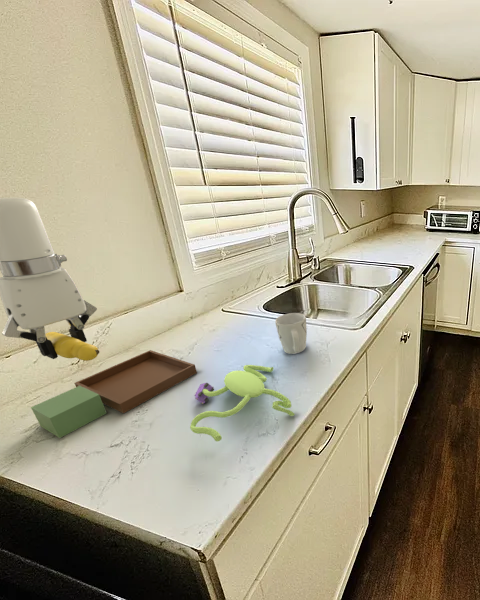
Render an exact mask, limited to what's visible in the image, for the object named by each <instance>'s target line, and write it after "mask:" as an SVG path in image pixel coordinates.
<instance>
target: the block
mask: <svg viewBox="0 0 480 600" xmlns="http://www.w3.org/2000/svg"><path fill="white" fill-rule="evenodd" d="M104 405H105V404H103V403H102V400H101V398H100V396H99V394H97V393H94V392H92V391H90V390H88V389H86V388H84V387H81V386H78V387H76V386H75V387H73V388H71V389H69V390H67V391H65V392H62V393H60V394H58V395H55V396H53V397H51V398H49V399H47V400H44V401H42V402H39V403H38V404H35V405H33V406H31V407H30V408H31V411H32V412H33V414H34V416H35V419H36V420H37V422H38V424H39V426H40V427H41V428H42V429H44V430H46V431H47V432H49V433H51V434H52V435H54V436H55V437H57V438H59V439H61V438H63V437H65V436H67V435H69V434H71V433H72V432H74V431H76V430H78V429H80V428H82V427H84V426H86V425H87V424H89V423H91V422H93V421H95V420H97V419H99V418H101V417H102V416H104V415H106V414H108V412H107V411H106V408H105V406H104Z"/></svg>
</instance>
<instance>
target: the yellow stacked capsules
mask: <svg viewBox="0 0 480 600" xmlns="http://www.w3.org/2000/svg"><path fill="white" fill-rule="evenodd" d="M45 335H46V337H47V339H48V340H50V341H51V342H52V344H53V346H54V349H55V351H56V353H57V355H58V357H62V358H64V359H75V358H76V359H79V360H81V361H86V362H87V361H92V360H94V359H96V358H97V357H98V355H99V354H100V352H101V351H100V350H99V348H98V347H97V346H96V345H94V344H91V343H89V342H82V341H81V340H79V339H76V338H73V337H71V335H68V334H65V333H64V334H63V333H60V332H56V331H49V332H45Z"/></svg>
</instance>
